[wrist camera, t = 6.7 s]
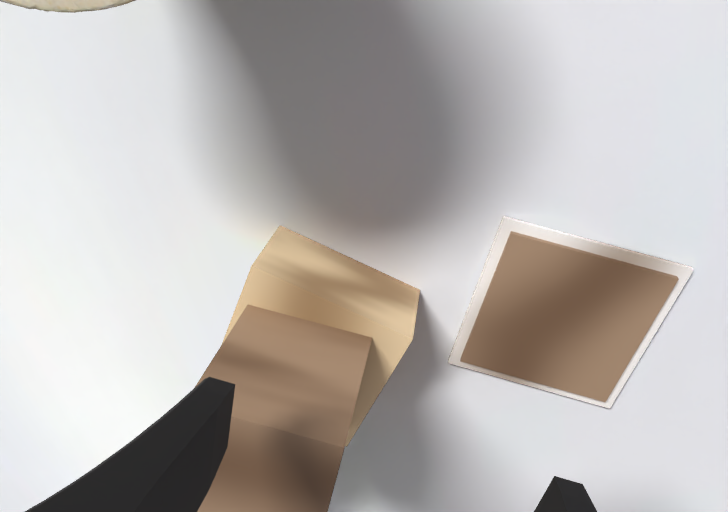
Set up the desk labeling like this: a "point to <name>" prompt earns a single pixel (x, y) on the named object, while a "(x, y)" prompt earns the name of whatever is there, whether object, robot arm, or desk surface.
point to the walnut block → (284, 412)
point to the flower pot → (68, 4)
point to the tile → (564, 311)
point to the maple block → (335, 303)
